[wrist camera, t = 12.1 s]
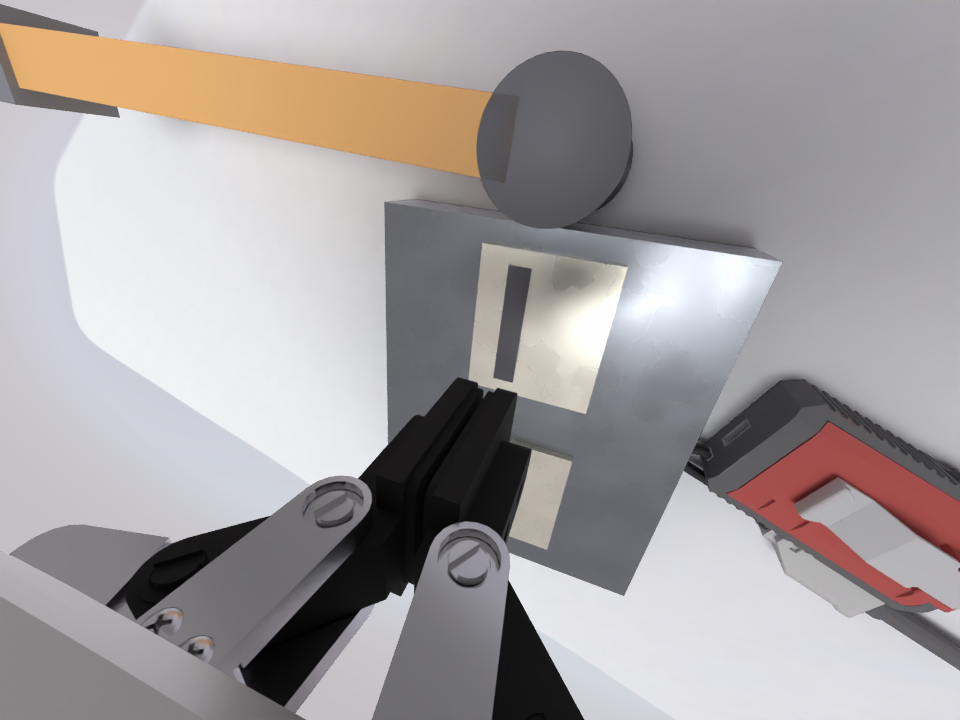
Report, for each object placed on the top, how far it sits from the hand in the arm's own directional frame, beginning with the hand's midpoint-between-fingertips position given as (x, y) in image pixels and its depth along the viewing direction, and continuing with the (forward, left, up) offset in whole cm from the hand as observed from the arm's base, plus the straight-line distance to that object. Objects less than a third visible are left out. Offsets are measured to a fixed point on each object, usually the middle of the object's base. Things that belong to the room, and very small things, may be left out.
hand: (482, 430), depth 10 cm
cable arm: (+11, -8, -6) cm, 15 cm away
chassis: (0, +6, -11) cm, 12 cm away
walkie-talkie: (-18, +8, -12) cm, 23 cm away
